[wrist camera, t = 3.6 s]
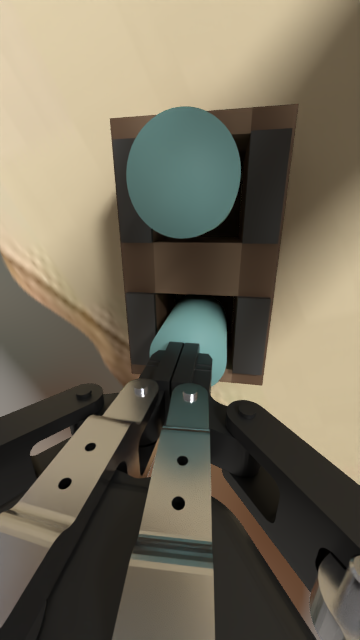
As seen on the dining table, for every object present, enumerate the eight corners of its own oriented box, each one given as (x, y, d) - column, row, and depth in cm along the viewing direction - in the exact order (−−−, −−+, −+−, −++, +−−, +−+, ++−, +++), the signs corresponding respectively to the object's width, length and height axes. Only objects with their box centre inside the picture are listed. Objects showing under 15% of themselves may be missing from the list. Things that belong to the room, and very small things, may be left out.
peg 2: (228, 293, 17) (229, 325, 12) (225, 346, 19) (224, 395, 13) (171, 291, 18) (147, 320, 13) (172, 342, 19) (151, 388, 14)
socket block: (275, 142, 17) (300, 100, 11) (253, 345, 22) (262, 389, 16) (145, 149, 18) (106, 115, 13) (154, 338, 24) (129, 376, 18)
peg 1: (238, 150, 13) (245, 101, 8) (232, 232, 15) (236, 238, 9) (162, 154, 14) (121, 111, 8) (164, 232, 15) (130, 238, 10)
